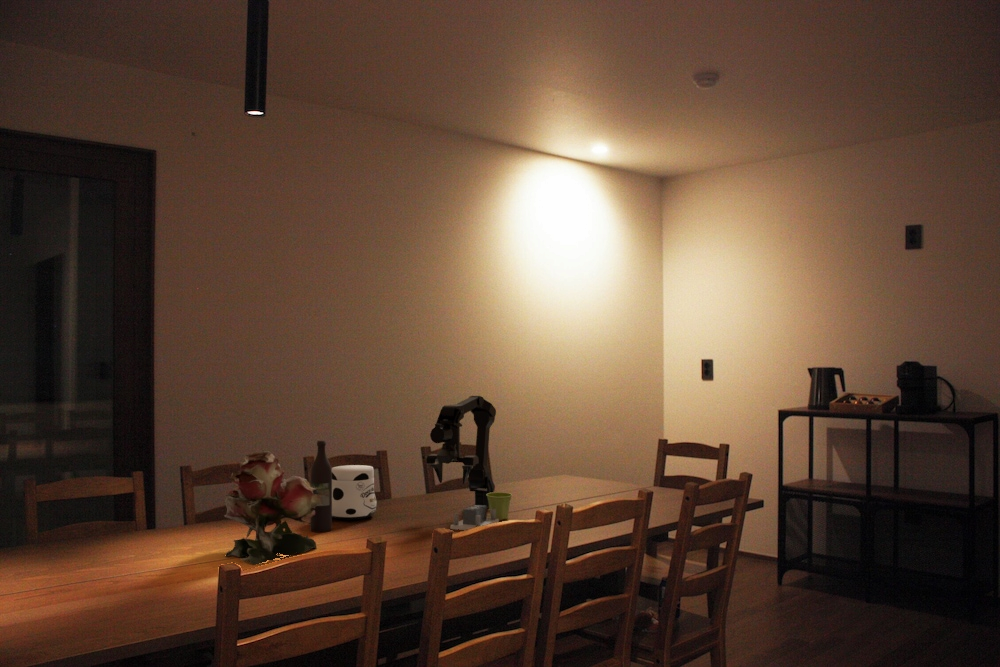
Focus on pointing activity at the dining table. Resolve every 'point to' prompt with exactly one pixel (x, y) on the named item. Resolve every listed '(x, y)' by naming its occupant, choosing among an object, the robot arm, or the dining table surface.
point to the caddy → (462, 526)
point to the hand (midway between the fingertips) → (452, 483)
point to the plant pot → (499, 504)
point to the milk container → (353, 492)
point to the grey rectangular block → (474, 514)
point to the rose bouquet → (269, 509)
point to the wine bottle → (322, 491)
